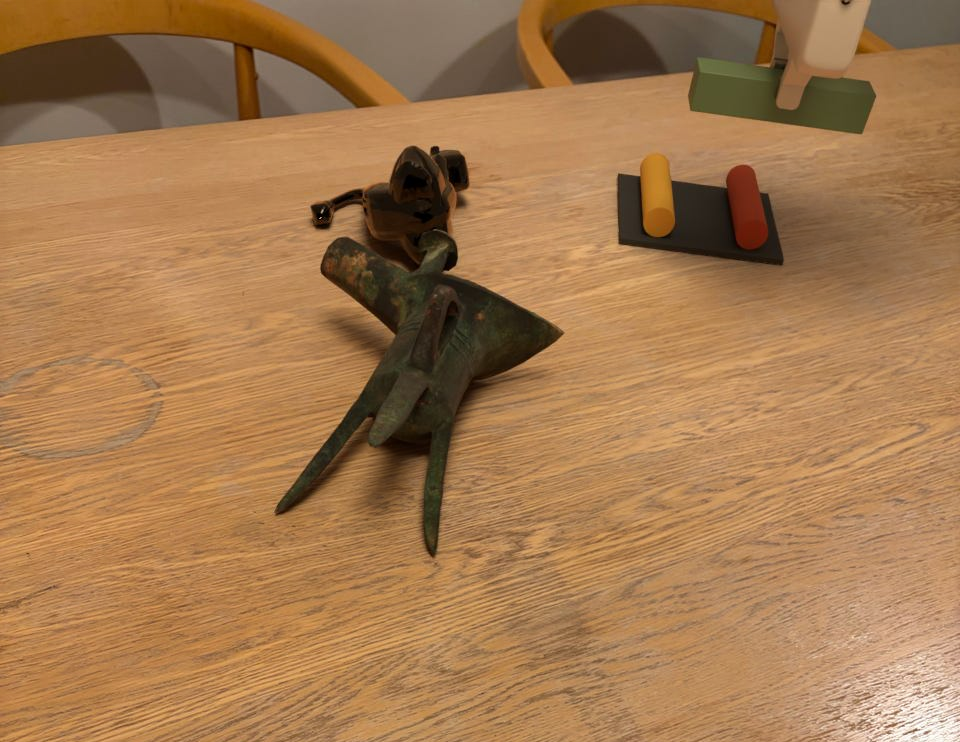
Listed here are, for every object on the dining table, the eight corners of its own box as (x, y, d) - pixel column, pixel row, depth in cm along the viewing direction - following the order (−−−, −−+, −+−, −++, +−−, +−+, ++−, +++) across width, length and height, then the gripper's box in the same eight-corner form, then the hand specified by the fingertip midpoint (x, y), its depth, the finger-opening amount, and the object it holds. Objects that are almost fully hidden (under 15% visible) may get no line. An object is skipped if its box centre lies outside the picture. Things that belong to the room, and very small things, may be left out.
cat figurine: (308, 292, 92) (354, 232, 106) (457, 271, 89) (484, 213, 103) (276, 176, 86) (330, 129, 100) (434, 150, 83) (467, 106, 97)
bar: (855, 119, 84) (869, 80, 82) (862, 135, 82) (877, 95, 80) (687, 96, 83) (697, 56, 81) (689, 111, 81) (699, 70, 79)
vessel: (485, 581, 68) (572, 350, 82) (466, 449, 59) (568, 215, 73) (231, 541, 73) (355, 329, 87) (177, 413, 64) (325, 200, 78)
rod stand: (766, 198, 108) (777, 164, 105) (782, 265, 99) (794, 230, 96) (617, 178, 108) (623, 143, 105) (618, 243, 98) (626, 207, 96)
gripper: (922, -66, 64) (841, 156, 75) (863, -144, 78) (802, 53, 88) (823, -80, 64) (756, 145, 74) (782, -156, 78) (730, 43, 88)
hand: (781, 94), depth 81 cm, fingers closed on bar, 3 cm apart
